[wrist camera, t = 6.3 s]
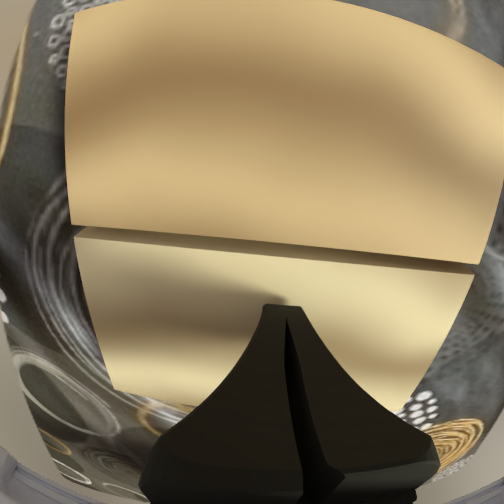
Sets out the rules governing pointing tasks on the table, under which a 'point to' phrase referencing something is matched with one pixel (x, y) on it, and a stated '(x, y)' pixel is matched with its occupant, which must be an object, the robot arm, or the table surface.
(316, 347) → the robot arm
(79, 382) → the table surface
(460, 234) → the laid oak board
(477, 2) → the table surface
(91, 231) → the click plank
